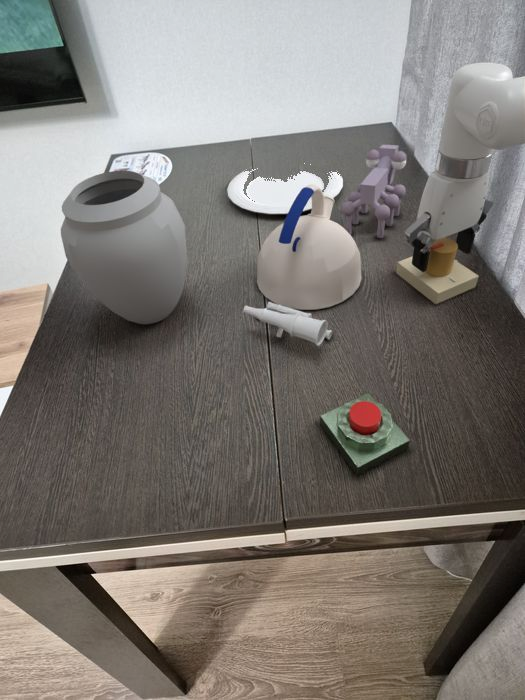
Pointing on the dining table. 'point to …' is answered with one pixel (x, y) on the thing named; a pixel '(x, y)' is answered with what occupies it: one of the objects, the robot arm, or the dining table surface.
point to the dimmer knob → (441, 257)
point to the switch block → (363, 437)
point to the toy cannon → (292, 322)
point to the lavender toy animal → (377, 189)
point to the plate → (278, 191)
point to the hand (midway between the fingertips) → (440, 258)
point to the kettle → (309, 257)
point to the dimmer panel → (438, 280)
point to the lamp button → (364, 417)
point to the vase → (126, 244)
